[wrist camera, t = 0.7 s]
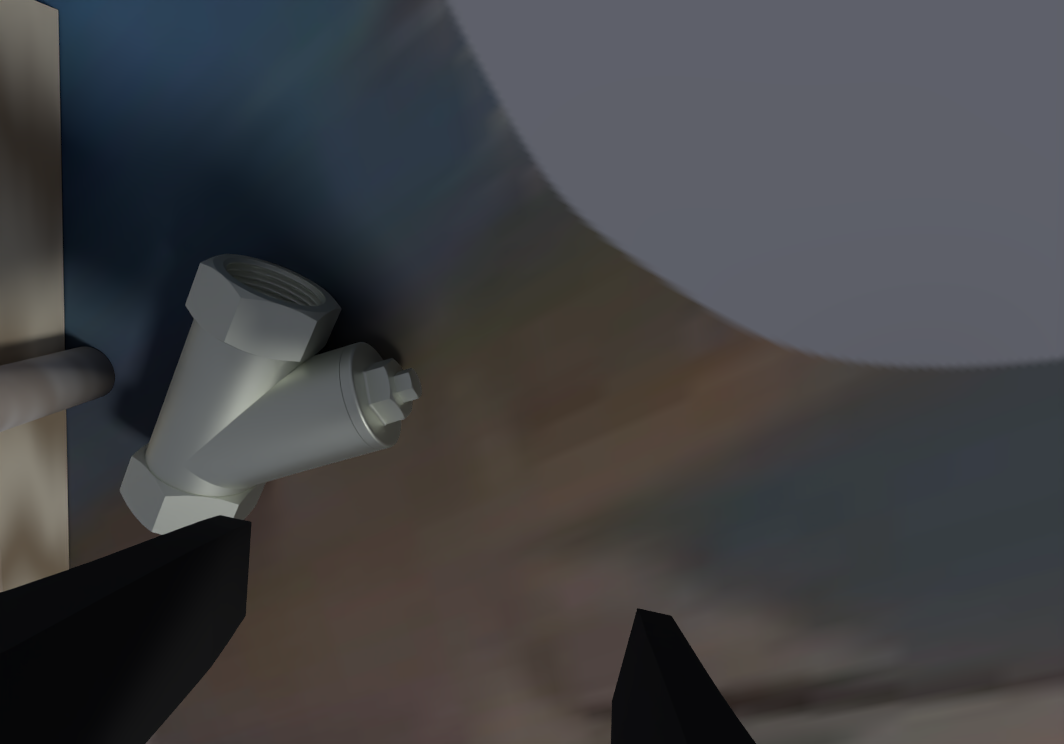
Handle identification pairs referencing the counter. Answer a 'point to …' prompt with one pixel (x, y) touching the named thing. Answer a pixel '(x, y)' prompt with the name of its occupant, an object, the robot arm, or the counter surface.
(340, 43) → the counter surface
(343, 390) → the pipe fitting
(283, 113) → the counter surface
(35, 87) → the light wooden bar
